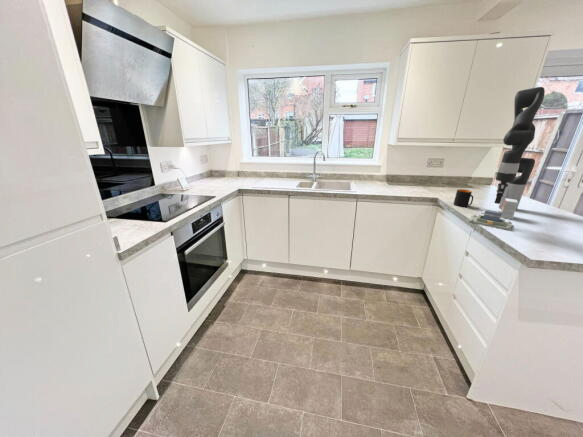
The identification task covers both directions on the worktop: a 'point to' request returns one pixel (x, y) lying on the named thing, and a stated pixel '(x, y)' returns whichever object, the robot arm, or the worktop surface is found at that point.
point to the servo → (492, 215)
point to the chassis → (491, 222)
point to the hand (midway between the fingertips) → (497, 201)
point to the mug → (463, 198)
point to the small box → (509, 208)
